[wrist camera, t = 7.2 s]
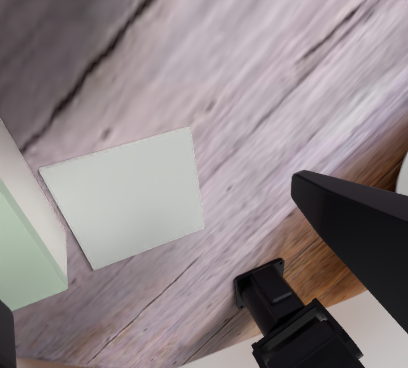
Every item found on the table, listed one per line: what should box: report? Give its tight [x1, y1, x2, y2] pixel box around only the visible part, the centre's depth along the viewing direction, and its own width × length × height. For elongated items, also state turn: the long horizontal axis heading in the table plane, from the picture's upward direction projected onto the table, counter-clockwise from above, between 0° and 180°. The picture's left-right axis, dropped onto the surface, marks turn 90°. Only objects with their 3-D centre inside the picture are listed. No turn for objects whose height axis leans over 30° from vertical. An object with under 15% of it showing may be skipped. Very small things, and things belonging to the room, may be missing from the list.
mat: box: [39, 126, 205, 271], centre depth 22 cm, size 10×10×1 cm
